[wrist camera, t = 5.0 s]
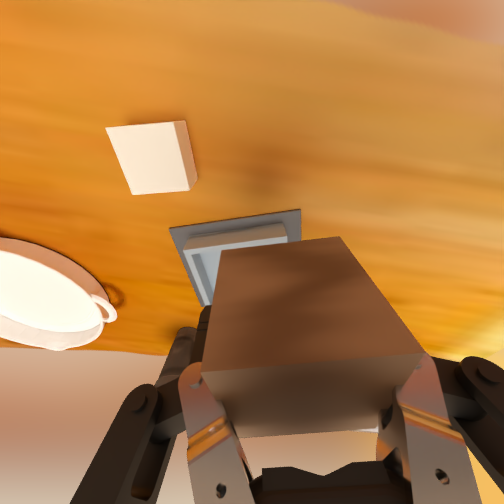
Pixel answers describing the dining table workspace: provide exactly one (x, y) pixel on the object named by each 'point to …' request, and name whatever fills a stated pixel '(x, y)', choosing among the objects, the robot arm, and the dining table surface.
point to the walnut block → (303, 340)
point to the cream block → (155, 156)
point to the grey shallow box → (229, 243)
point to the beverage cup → (178, 356)
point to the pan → (48, 298)
